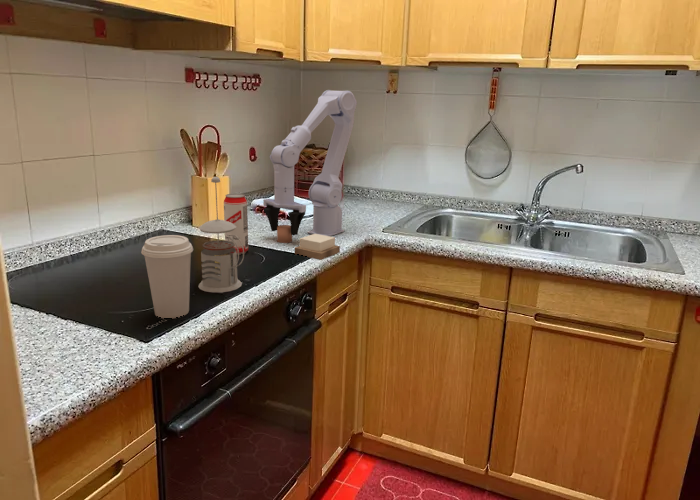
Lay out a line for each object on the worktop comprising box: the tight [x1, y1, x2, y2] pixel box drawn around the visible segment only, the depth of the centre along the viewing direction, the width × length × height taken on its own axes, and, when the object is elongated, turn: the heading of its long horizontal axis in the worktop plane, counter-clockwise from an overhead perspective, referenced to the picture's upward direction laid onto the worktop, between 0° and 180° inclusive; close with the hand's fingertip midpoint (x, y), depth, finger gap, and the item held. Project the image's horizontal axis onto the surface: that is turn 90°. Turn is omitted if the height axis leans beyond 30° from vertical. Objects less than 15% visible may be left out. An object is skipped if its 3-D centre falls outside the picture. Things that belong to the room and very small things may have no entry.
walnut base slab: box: [294, 244, 341, 261], centre depth 149 cm, size 9×9×2 cm
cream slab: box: [299, 234, 336, 252], centre depth 149 cm, size 7×7×2 cm
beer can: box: [223, 192, 249, 256], centre depth 146 cm, size 6×6×16 cm
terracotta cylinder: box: [276, 224, 293, 244], centre depth 160 cm, size 4×4×4 cm
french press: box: [198, 176, 245, 293], centre depth 119 cm, size 10×12×25 cm
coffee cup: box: [140, 234, 194, 319], centre depth 105 cm, size 10×10×15 cm
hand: (284, 232), depth 160 cm, fingers open, 7 cm apart
